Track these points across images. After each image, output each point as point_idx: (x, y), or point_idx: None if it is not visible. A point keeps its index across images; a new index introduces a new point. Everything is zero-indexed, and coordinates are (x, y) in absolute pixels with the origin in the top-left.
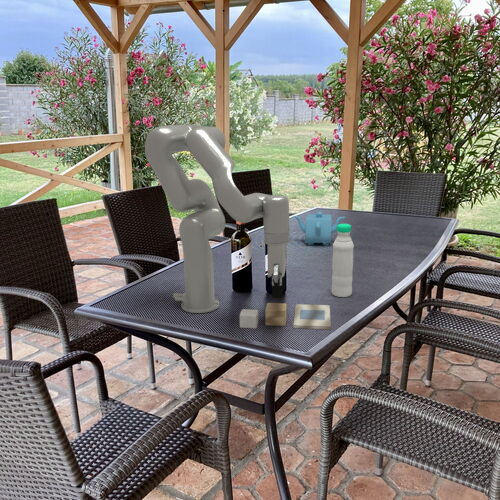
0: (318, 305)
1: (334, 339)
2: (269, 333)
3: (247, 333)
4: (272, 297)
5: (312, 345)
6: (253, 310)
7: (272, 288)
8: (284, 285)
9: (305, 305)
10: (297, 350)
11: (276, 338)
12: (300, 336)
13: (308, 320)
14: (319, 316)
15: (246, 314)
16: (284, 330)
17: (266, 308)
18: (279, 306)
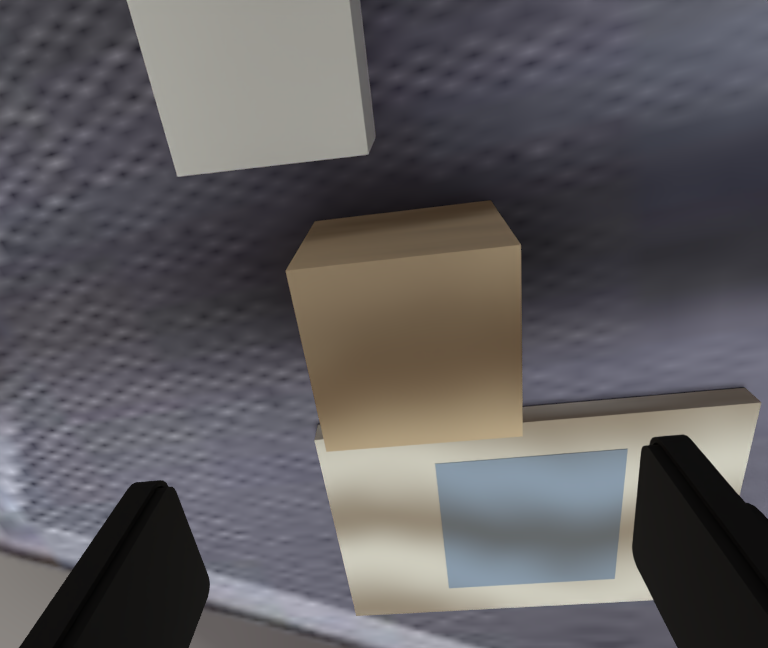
0: None
1: (238, 614)
2: (169, 286)
3: (86, 100)
4: (136, 488)
5: None
6: (336, 96)
7: (48, 629)
8: (650, 579)
9: (722, 469)
10: (16, 481)
11: (110, 348)
12: (207, 475)
13: (420, 513)
14: (501, 561)
15: (181, 36)
16: (262, 376)
17: (338, 271)
18: (430, 387)
